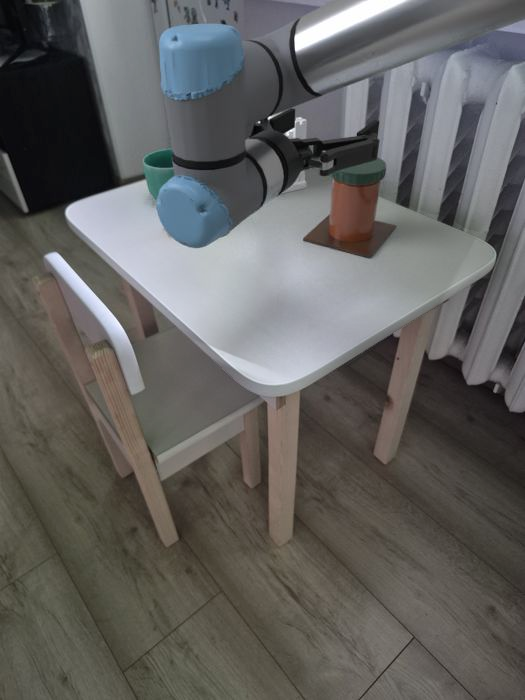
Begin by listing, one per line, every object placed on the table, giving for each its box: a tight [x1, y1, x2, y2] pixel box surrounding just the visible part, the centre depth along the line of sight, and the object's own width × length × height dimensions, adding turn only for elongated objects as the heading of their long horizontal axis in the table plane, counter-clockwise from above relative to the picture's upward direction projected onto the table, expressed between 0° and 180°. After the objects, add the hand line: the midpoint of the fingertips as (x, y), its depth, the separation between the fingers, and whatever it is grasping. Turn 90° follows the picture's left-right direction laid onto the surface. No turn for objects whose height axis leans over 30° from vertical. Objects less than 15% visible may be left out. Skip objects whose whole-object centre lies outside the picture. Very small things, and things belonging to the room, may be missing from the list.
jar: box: [328, 178, 382, 242], centre depth 91 cm, size 9×9×13 cm
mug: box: [142, 147, 174, 201], centre depth 107 cm, size 17×13×10 cm
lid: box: [329, 157, 387, 185], centre depth 87 cm, size 10×10×2 cm
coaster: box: [302, 213, 397, 259], centre depth 96 cm, size 14×14×1 cm
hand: (332, 123), depth 72 cm, fingers open, 13 cm apart
